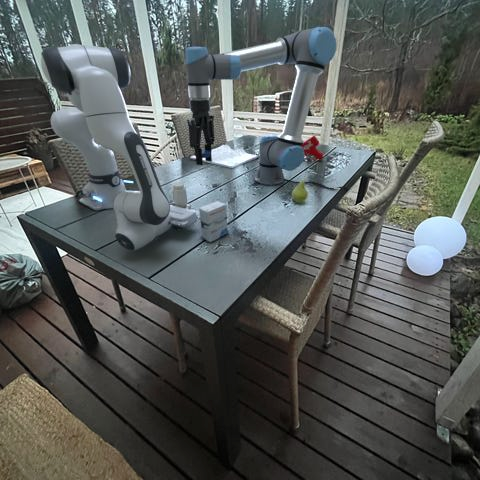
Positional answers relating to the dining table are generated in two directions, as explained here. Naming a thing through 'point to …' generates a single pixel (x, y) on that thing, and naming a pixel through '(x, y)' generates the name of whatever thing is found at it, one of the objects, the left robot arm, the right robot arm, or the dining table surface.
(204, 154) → the lid
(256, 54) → the right robot arm
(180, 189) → the jar
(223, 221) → the ink box
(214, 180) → the dining table surface
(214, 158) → the relief map
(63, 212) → the dining table surface
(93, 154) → the left robot arm
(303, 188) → the fruit
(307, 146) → the toy gun
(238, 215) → the dining table surface
